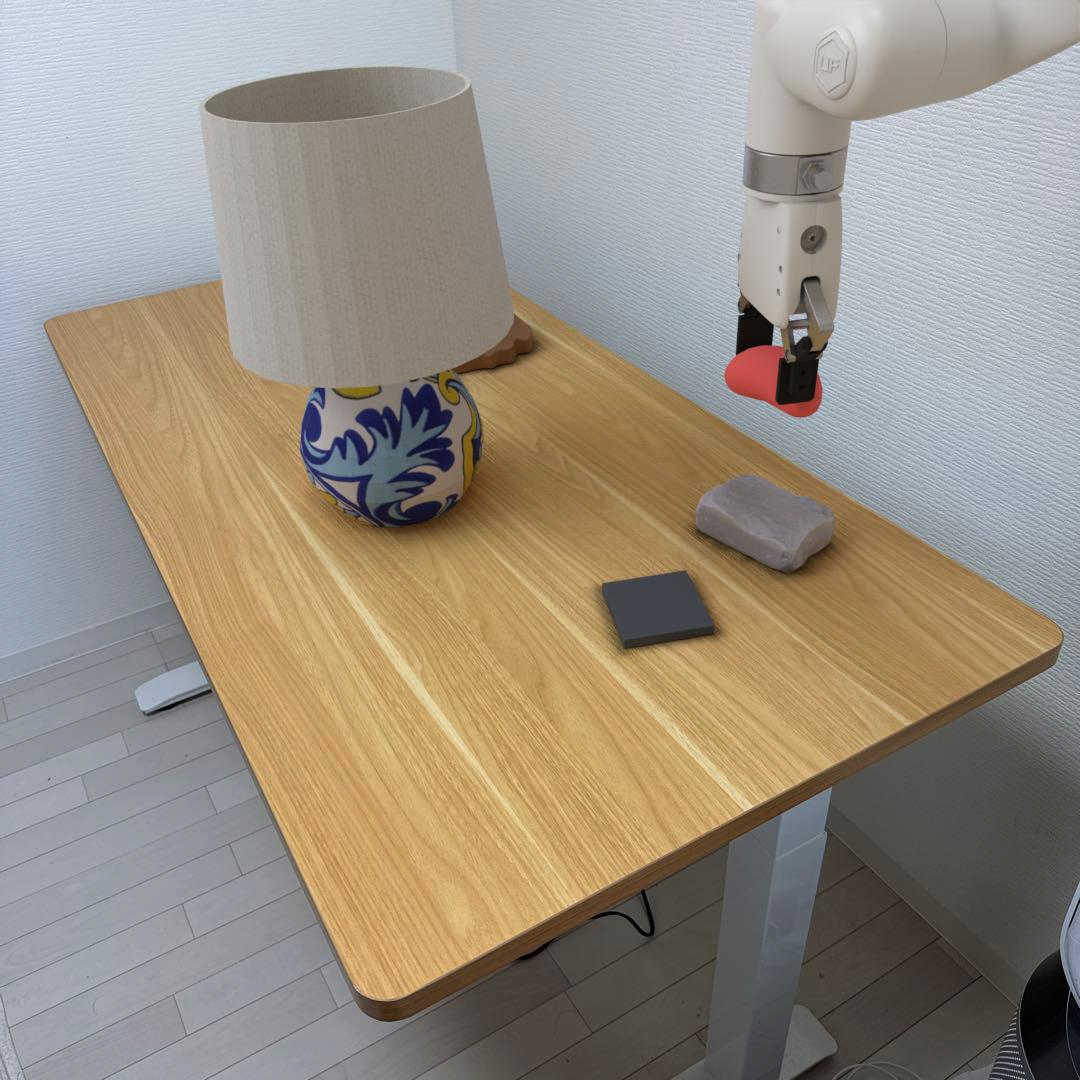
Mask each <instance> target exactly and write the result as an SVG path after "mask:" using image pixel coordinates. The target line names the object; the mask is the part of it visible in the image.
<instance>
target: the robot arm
mask: <svg viewBox="0 0 1080 1080" xmlns="http://www.w3.org/2000/svg"><path fill="white" fill-rule="evenodd" d="M752 23H753V24H752V39H751V52H750V64H749V65H750V66H749V81H748V95H747V107H746V109H747V111H746V123H745V137H744V138H745V139H744V155H743V165H742V166H743V168H742V181H741V190H742V192H743V193H744V194H745V201H744V209H743V214H742V222H741V230H740V238H739V251H738V253H737V265H738V266H737V287H738V289H739V294H740V297H739V298H738V300H737V312H738V316H737V329H736V344H735V357H736V356H737V355H738V354H740V353H741V352H743V351H745V350H747V349H749V348H753V347H757V346H762V345H769V346H773V341H774V331H775V327H776V328H778V329H780V335H781V342H782V343H781V344H782V347H783V350H784V357H785V358H779V366H778V376H777V386H776V395H775V401H776V402H777V403H778V404H779V405H786V404H793V403H800V402H808V401H811V400H813V399H814V396H815V389H816V381H817V373H818V374H819V364H820V360H822V358H823V356H824V351H825V350H826V349H827V346H828V345H829V340H830V339H831V336H832V334H833V333H834V331H835V323H834V320H835V318H836V315H837V311H838V302H839V301H838V300H839V292H840V291H839V290H840V282H841V281H840V280H841V269H842V268H841V267H842V253H843V251H842V250H843V205H842V197H841V196H840V195H841V193H842V192H843V190H844V183H845V182H844V181H845V180H844V179H845V175H846V167H847V160H848V159H847V158H848V151H849V144H850V139H851V138H850V137H851V136H850V135H851V129H852V122H862V121H863V122H864V121H869V120H875V119H879V118H883V117H888V116H891V115H897V114H900V113H904V112H907V111H910V110H914V109H918V108H923V107H927V106H931V105H935V104H940V103H945V102H949V101H953V100H958V99H960V98H965V97H968V96H970V95H972V94H976V93H978V92H980V91H982V90H985V89H987V88H989V87H992V86H993V85H996V84H998V83H1000V82H1002V81H1004V80H1007V79H1008V78H1010V77H1012V76H1014V75H1017V74H1018V73H1022V72H1023V71H1025V70H1027V69H1029V68H1031V67H1033V66H1035V65H1037V64H1040V63H1041V62H1044V61H1046V60H1048V59H1050V58H1052V57H1054V56H1056V55H1058V54H1060V53H1062V52H1064V51H1066V50H1067V49H1069V48H1071V47H1073V46H1075V45H1077V44H1078V43H1080V0H756V3H755V7H754V14H753V22H752ZM803 314H805V315H806V318H800V319H792V320H790V316H795V315H803ZM799 330H806V332H807V335H806V336H805V335H804V336H802V337H801V338H800V339H799V340H798V341H797V342H796V341H795V334H794V331H799Z"/></svg>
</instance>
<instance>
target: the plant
mask: <svg viewBox="0 0 1080 1080" xmlns="http://www.w3.org/2000/svg"><path fill="white" fill-rule="evenodd" d="M533 333H534V332H533V328H532V327H531V326H530V325H529V324H527V323H526V322H525V321H524V320H522V319H521V318H520V317H519V316H518V315H517V314H516V313H514V323H513V325H512V326H511V328H510V330H509V332H508V334H507V335H506V336H505V337H504V338H503V339H502V340H501V341H500V342H499V343H498V344H497V345H496V346H495V347H493V348H491V349H490V350H488V351H487V352H485V353H484V354H482V355H481V356H479V357H477V358H475V359H473V360H471V361H468V362H466V363H464V364H462V365H460V366H458V367H455V368H452V370H453V371H454V372H455V373H456V374H462V373H468V372H472V371H475V370H479V369H480V370H482V369H494V368H496V367H497V366H499V365H500V366H501V365H508V364H512V363H513V362H514V361H515V359H516V356H517V355H519V354H520V355H521V354H528V353H530V351H531V350H532V349H533V346H534V334H533Z"/></svg>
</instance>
